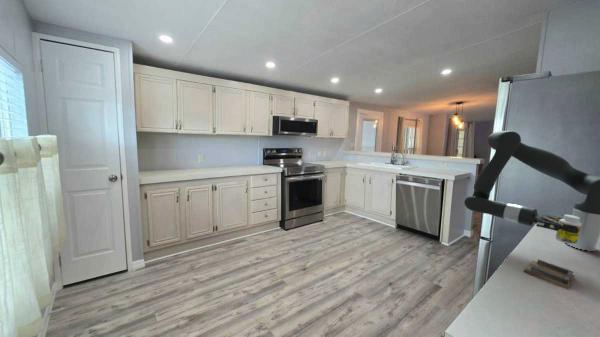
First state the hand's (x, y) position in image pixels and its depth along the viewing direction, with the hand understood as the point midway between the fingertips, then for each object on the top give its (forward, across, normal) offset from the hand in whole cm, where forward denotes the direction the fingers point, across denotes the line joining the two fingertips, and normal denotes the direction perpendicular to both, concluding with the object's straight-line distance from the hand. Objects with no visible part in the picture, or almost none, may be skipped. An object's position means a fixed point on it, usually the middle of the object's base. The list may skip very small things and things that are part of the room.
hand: (579, 229), depth 88 cm
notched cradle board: (-3, -14, +16) cm, 21 cm away
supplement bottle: (-3, 0, +6) cm, 7 cm away
